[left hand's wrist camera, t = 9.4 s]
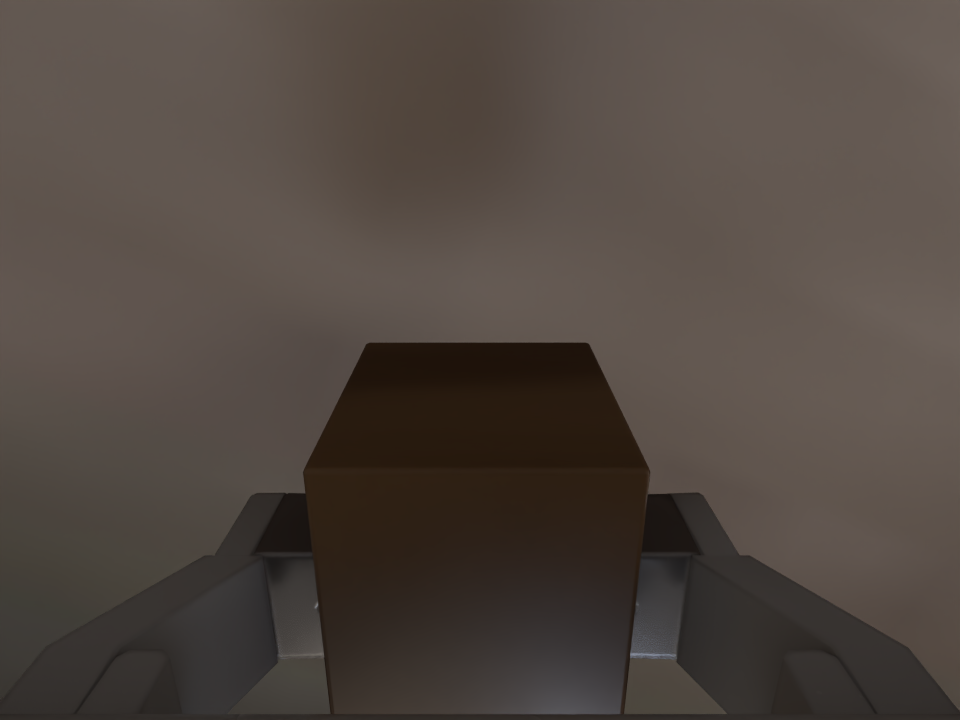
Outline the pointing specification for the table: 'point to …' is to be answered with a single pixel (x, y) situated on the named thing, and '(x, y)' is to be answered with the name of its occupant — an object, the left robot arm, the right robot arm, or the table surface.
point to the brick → (477, 532)
